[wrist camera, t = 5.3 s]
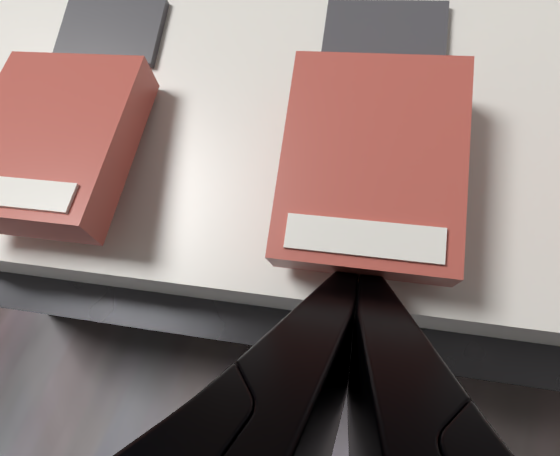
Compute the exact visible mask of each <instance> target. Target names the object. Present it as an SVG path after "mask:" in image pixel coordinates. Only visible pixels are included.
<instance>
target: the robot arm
mask: <svg viewBox="0 0 560 456" xmlns="http://www.w3.org/2000/svg"><path fill="white" fill-rule="evenodd" d="M358 278H359V281H358ZM357 289H358V290H357ZM356 299H357V300H356ZM354 318H355V319H354ZM353 328H354V329H353ZM352 338H353V339H352ZM351 347H352V349H351ZM350 357H351V359H350ZM349 367H350V369H349ZM348 376H349V379H348ZM347 385H348V394H347V407H348V440H349V456H514V455H513V454H512V453H511V451H510V450H509V449H508V447H507V446H506V445H505V444H504V442H503V441H502V440H501V438H500V437H499V436H498V434H497V433H496V432H495V430H494V429H493V428H492V427H491V425H490V424H489V423H488V421H487V420H486V419H485V417H484V416H483V414H482V413H481V412H480V410H479V409H478V408H477V406H476V405H475V403H474V402H471V398H470V397H469V395H468V394H467V393H466V391H465V390H464V388H463V387H462V386H461V384H460V383H459V381H458V380H457V379H456V377H455V376H454V375H453V373H452V372H451V370H450V369H449V368H448V366H447V365H446V363H445V362H444V361H443V359H442V358H441V357H440V355H439V354H438V352H437V351H436V350H435V348H434V347H433V345H432V344H431V343H430V341H429V340H428V339H427V337H426V336H425V334H424V333H423V332H422V330H421V329H420V327H419V326H418V325H417V323H416V322H415V321H414V319H413V318H412V316H411V315H410V314H409V312H408V311H407V309H406V308H405V307H404V305H403V304H402V302H401V301H400V300H399V298H398V297H397V296H396V294H395V293H394V291H393V290H392V289H391V287H390V286H389V284H388V283H387V282H386V280H385V279H384V278H383V277H382V276H374V275H365V274H360V276H358V274H356V273H348V272H339V271H336V272H334V273H333V274H332V275H331V276H330V277H329V278H328V279H326V280H325V281H324V282H323V283H322V284H321V285H320V286H319V287H318V288H317V289H315V290H314V291H313V292H312V293H311V294H310V295H309V296H308V297H307V298H305V299H304V300H303V301H302V302H301V303H300V304H299V305H298V306H297V307H295V308H294V309H293V310H292V311H291V312H290V313H289V314H288V315H287V316H285V317H284V318H283V319H282V320H281V321H280V322H279V323H278V324H277V325H275V326H274V327H273V328H272V329H271V330H270V331H269V332H268V333H267V334H265V335H264V336H263V337H262V338H261V339H260V340H259V341H258V342H257V343H255V344H254V345H253V346H252V347H251V348H250V349H249V350H248V351H247V352H245V353H244V354H243V355H242V356H241V357H240V358H239V359H238V360H237V361H236V362H235V364H232V365H231V366H230V367H228V368H227V369H226V370H225V371H224V372H223V373H222V374H221V375H220V376H218V377H217V378H216V379H215V380H214V381H213V382H211V383H210V384H209V385H208V386H207V387H205V388H204V389H203V390H202V391H201V392H200V393H198V394H197V395H196V396H195V397H193V398H192V399H191V400H189V401H188V402H187V403H185V404H184V405H183V406H181V407H180V408H179V409H177V410H176V411H175V412H173V413H172V414H171V415H169V416H168V417H167V418H165V419H164V420H162V421H161V422H160V423H158V424H157V425H155V426H154V427H153V428H151V429H150V430H148V431H147V432H146V433H144V434H143V435H141V436H140V437H139V438H137V439H136V440H134V441H133V442H132V443H130V444H129V445H127V446H126V447H124V448H123V449H122V450H120V451H119V452H117V453H116V454H115V455H113V456H332V452H333V448H334V444H335V439H336V435H337V431H338V427H339V423H340V419H341V415H342V411H343V407H344V402H345V397H346V392H347Z"/></svg>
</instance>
